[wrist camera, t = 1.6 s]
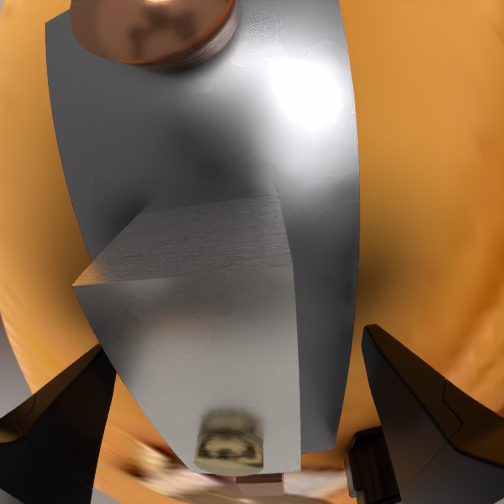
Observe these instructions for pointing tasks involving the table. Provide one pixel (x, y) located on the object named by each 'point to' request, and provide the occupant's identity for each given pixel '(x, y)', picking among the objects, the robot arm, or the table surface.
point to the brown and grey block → (205, 331)
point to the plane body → (222, 148)
